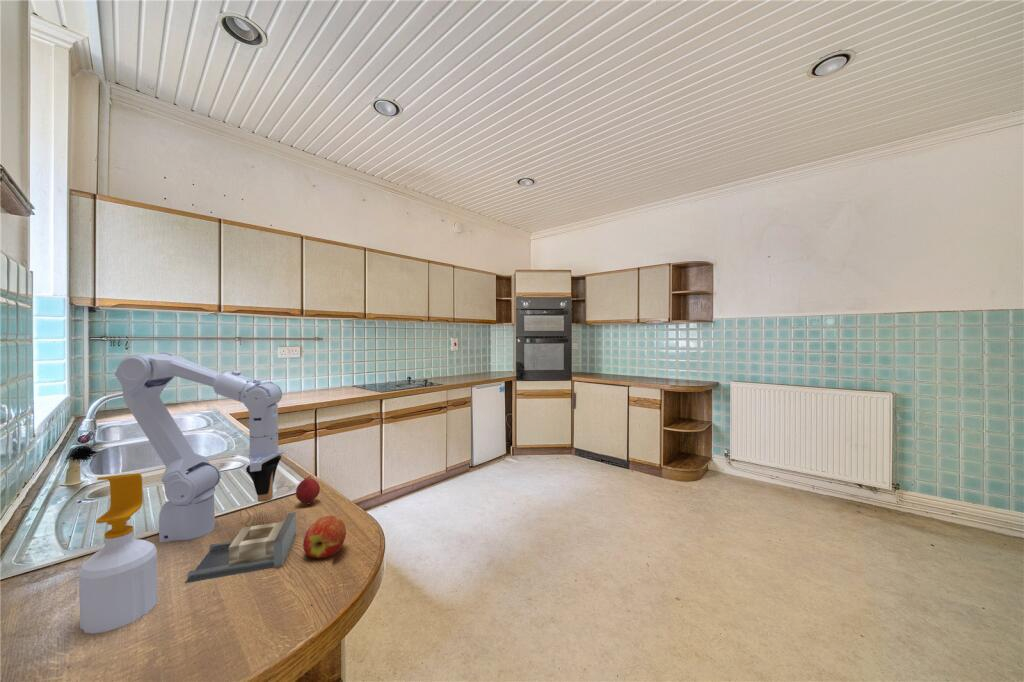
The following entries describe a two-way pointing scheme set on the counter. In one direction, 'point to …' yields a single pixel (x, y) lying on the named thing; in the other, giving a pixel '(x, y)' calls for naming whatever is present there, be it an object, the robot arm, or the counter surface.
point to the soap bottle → (119, 565)
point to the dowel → (270, 494)
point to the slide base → (219, 562)
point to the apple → (324, 537)
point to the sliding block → (254, 543)
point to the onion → (307, 490)
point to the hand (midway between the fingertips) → (264, 491)
